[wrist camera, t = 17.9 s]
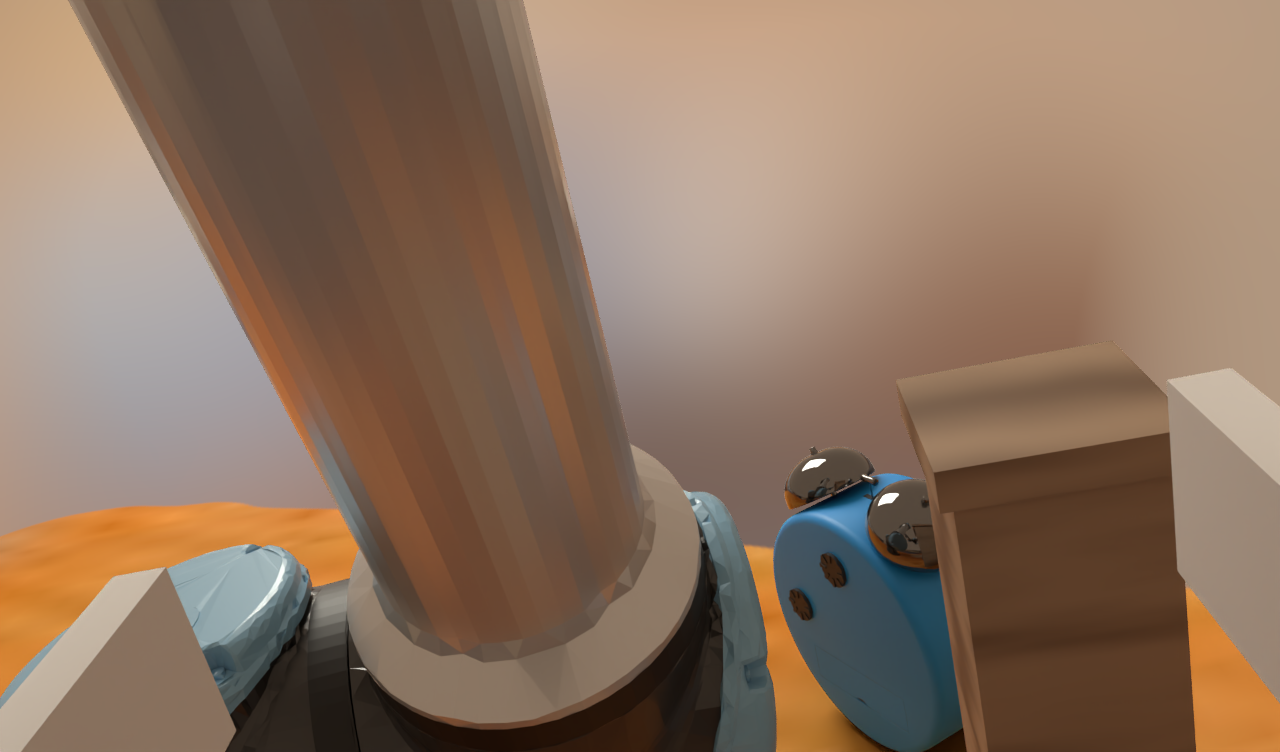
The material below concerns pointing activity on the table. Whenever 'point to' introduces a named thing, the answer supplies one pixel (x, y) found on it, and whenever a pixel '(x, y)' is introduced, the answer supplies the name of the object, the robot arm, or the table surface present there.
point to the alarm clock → (868, 598)
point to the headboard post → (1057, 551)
